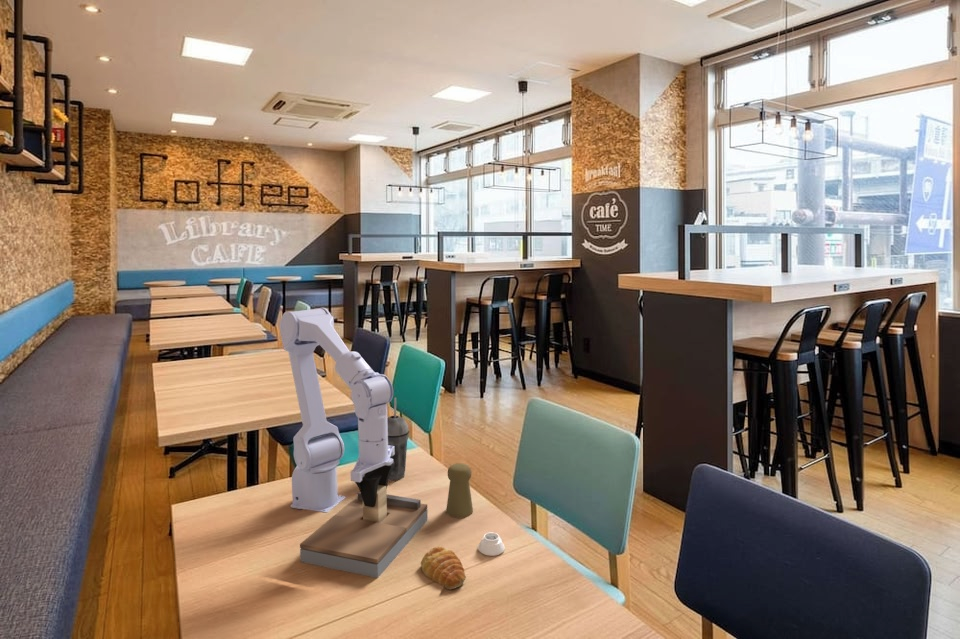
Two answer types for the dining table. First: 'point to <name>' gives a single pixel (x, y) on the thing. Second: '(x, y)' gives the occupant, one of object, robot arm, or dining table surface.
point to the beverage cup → (398, 443)
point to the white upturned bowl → (491, 544)
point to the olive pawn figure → (459, 491)
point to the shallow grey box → (360, 565)
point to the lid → (365, 530)
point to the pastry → (443, 567)
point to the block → (377, 507)
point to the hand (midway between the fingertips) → (374, 501)
